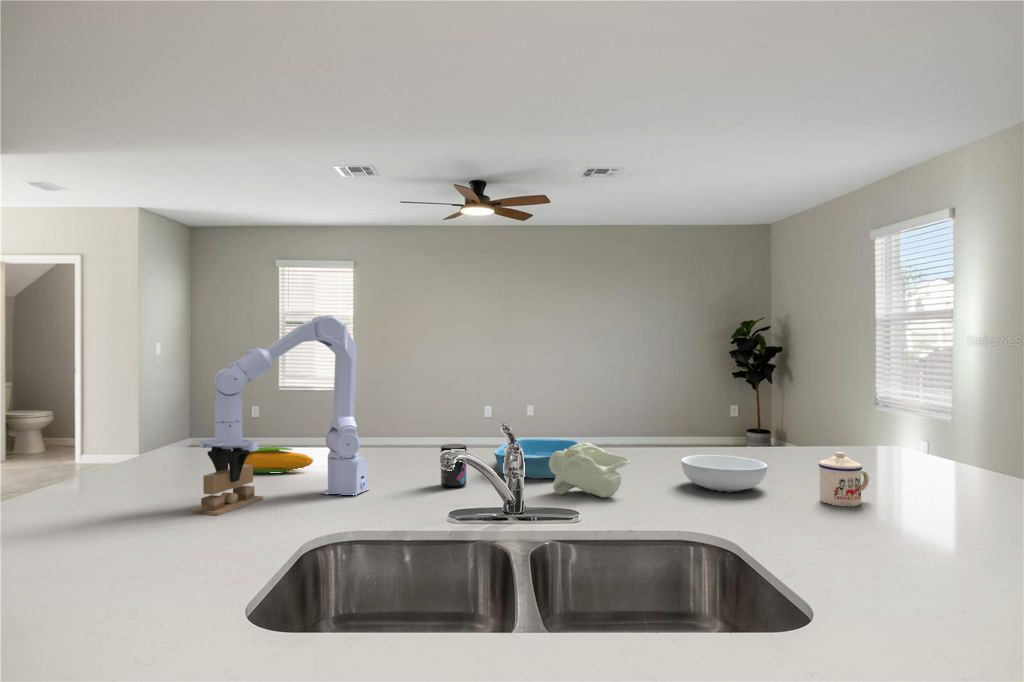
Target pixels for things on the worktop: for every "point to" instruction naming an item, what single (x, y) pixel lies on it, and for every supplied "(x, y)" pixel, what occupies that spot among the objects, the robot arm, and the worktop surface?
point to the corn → (276, 460)
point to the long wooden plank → (226, 480)
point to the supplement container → (457, 475)
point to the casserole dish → (536, 455)
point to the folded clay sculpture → (586, 470)
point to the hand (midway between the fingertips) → (228, 480)
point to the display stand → (227, 501)
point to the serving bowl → (724, 472)
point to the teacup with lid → (841, 481)
